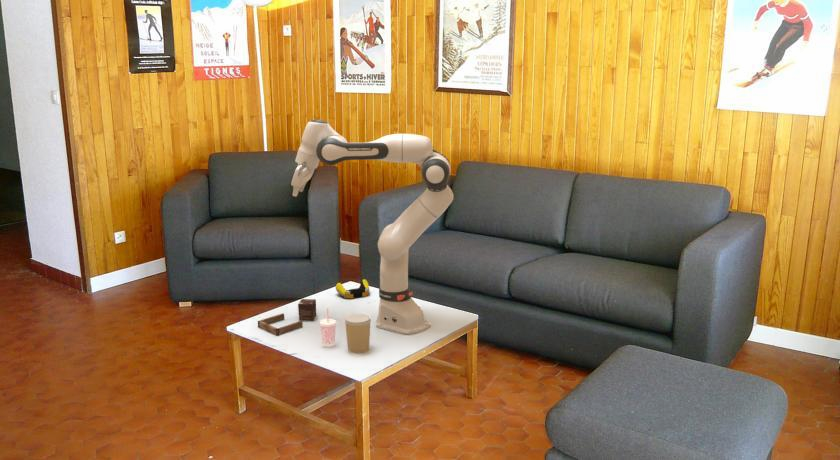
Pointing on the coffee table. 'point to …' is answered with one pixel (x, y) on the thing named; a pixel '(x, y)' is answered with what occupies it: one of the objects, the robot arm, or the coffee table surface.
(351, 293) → the gaming controller
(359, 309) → the coffee table surface
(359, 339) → the coffee cup
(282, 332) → the frame
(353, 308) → the coffee table surface
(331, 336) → the beverage cup
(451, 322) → the coffee table surface
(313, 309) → the box
